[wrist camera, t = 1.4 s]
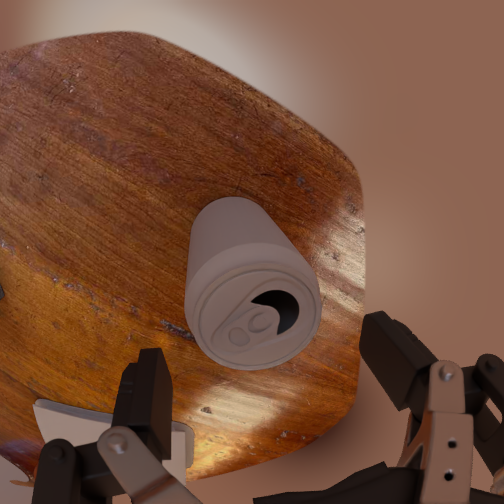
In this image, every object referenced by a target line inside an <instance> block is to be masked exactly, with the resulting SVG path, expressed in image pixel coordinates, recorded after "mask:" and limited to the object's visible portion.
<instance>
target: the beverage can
mask: <svg viewBox="0 0 504 504" xmlns="http://www.w3.org/2000/svg"><path fill="white" fill-rule="evenodd" d="M184 308H185V316H186V320H187V323H188V326H189V328H190V330H191V332H192V333H193V335H194V336H195V339H196V341H197V343H198V345H199V347H200V348H201V350H202V351H203V352H204V353H205V354H206V355H207V356H208V357H209V358H211V359H212V360H213V361H215V362H217V363H219V364H221V365H223V366H226V367H229V368H232V369H237V370H262V369H267V368H271V367H274V366H277V365H280V364H282V363H284V362H286V361H288V360H290V359H291V358H293V357H294V356H296V355H297V354H299V353H300V352H301V351H302V350H303V349H304V348H305V347H306V346H307V345H308V344H309V343H310V341H311V340H312V339H313V337H314V335H315V334H316V332H317V330H318V327H319V324H320V321H321V312H322V304H321V300H320V289H319V284H318V280H317V277H316V275H315V273H314V271H313V269H312V268H311V266H310V265H309V264H308V263H307V261H306V260H305V259H304V258H303V256H302V255H301V254H300V253H299V251H298V250H297V249H296V248H295V247H294V245H293V244H292V243H291V242H290V240H289V239H288V238H287V237H286V236H285V234H284V233H283V232H282V231H281V230H280V228H279V227H278V226H277V225H276V224H275V222H274V221H273V220H272V219H271V218H270V216H269V215H268V214H267V213H266V212H265V210H264V209H263V208H262V207H260V206H259V205H258V204H257V203H255V202H253V201H251V200H249V199H246V198H242V197H225V198H221V199H218V200H215V201H213V202H212V203H210V204H208V205H207V206H206V207H205V208H204V209H202V211H201V212H200V213H199V214H198V216H197V217H196V219H195V221H194V223H193V225H192V229H191V235H190V245H189V255H188V266H187V278H186V290H185V304H184Z"/></svg>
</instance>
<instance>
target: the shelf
mask: <svg viewBox="0 0 504 504" xmlns="http://www.w3.org/2000/svg"><path fill="white" fill-rule="evenodd" d="M3 296H4V292H3V290H2V287H1V285H0V300H1V299H2V298H3Z"/></svg>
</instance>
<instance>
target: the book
mask: <svg viewBox="0 0 504 504" xmlns="http://www.w3.org/2000/svg"><path fill="white" fill-rule="evenodd" d="M35 404H36V405H34V404H33V409H34V413H35V416H36V420H37V423H38V426H39V428H40V431H41V434H42V436H43V438H44V440H45V442H46V443H47V442H49V441H50V440H53V439H57V438H62V439H65V440H68V441H69V442H70V443H71V444H72V445H73V446H79V445H84V444H89V443H93V442H96V441H98V438H99V437H100V435H101V434H102V433H103V432H104V431H105V430H107V429H109V428H110V427H111V423H112V418H113V414H108V413H102V412H97V411H92V410H87V409H82V408H78V407H73V406H69V405H65V404H61V403H57V402H53V401H50V400H46V399H38V400H37V401H36V402H35ZM193 454H194V432H193V430H192V429H191V428H190V427H188V426H187V425H185V424H182V423H178V422H173V421H172V433H171V460H162V465H163V466H164V467H165V469H166V470H167V471H168V472H169V473H170V474H171V475H173V476H174V477H176V478H177V479H178V480H179V481H180V482H181V483H182V484H183V485H184V486H186V469H187V468H189V467H191V466H192V464H193Z"/></svg>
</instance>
